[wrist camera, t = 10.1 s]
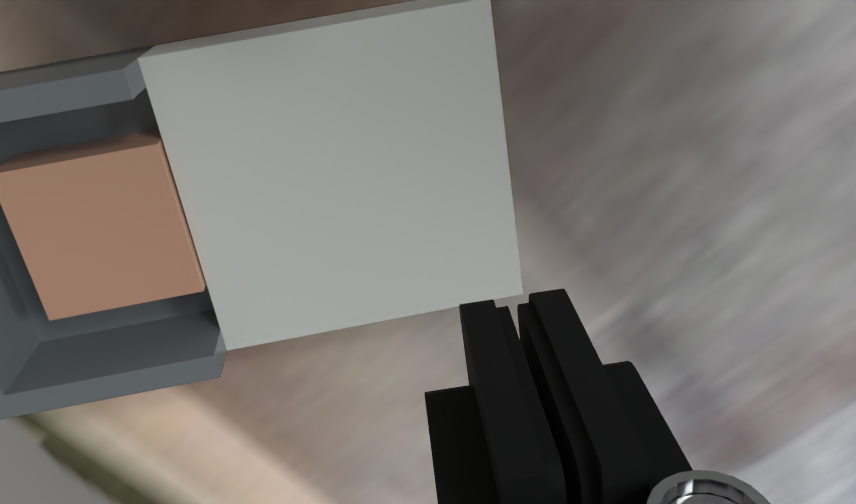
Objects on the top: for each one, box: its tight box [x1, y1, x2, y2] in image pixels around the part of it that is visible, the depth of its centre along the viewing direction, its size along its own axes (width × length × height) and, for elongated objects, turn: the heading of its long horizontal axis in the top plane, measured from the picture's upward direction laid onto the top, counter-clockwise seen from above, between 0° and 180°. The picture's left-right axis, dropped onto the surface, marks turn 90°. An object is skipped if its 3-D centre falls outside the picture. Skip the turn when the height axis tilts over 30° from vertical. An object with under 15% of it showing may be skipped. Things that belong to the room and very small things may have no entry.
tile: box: [0, 129, 206, 321], centre depth 30 cm, size 6×6×2 cm
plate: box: [138, 0, 523, 351], centre depth 31 cm, size 12×12×3 cm
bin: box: [0, 45, 227, 419], centre depth 29 cm, size 12×9×5 cm
